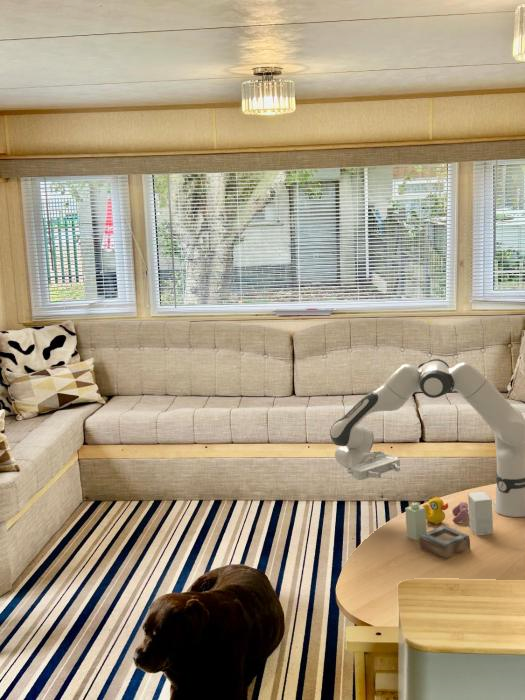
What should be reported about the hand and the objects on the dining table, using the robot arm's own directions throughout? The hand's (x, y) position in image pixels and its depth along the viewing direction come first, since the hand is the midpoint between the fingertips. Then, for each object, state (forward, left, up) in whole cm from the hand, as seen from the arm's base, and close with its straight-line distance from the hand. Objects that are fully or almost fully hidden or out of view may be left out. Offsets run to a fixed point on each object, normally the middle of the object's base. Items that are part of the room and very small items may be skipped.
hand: (389, 472), depth 284 cm
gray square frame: (0, +27, -21) cm, 34 cm away
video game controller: (-23, +13, -21) cm, 33 cm away
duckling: (-13, +9, -21) cm, 27 cm away
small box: (-20, +25, -21) cm, 38 cm away
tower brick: (0, +13, -21) cm, 25 cm away
